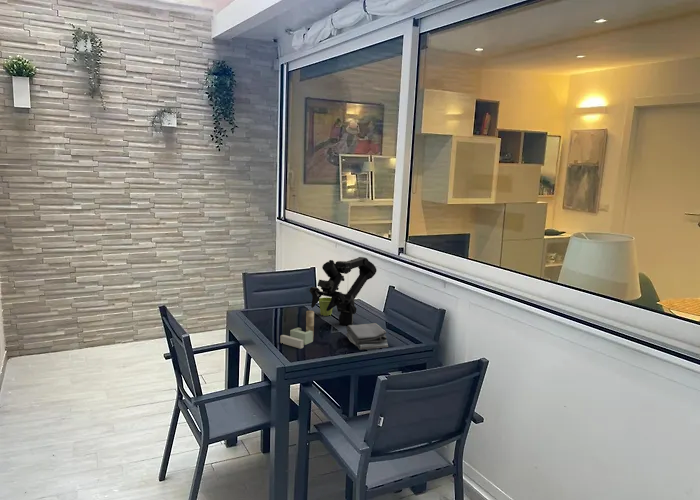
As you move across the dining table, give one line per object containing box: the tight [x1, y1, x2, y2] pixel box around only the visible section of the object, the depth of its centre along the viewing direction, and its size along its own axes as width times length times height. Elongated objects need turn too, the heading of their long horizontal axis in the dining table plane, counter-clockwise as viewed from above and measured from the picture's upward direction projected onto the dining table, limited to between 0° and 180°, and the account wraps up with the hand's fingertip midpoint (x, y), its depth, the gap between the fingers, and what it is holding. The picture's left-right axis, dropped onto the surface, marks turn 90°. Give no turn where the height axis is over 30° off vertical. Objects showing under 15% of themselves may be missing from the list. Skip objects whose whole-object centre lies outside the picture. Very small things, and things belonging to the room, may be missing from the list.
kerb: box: [279, 334, 305, 350], centre depth 227 cm, size 2×12×4 cm, turn 55°
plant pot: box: [318, 296, 334, 317], centre depth 277 cm, size 9×9×9 cm
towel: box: [346, 322, 389, 351], centre depth 233 cm, size 15×18×8 cm
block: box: [289, 327, 314, 346], centre depth 232 cm, size 6×9×5 cm, turn 55°
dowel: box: [305, 310, 315, 339], centre depth 236 cm, size 4×4×13 cm
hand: (319, 309), depth 241 cm, fingers open, 9 cm apart
